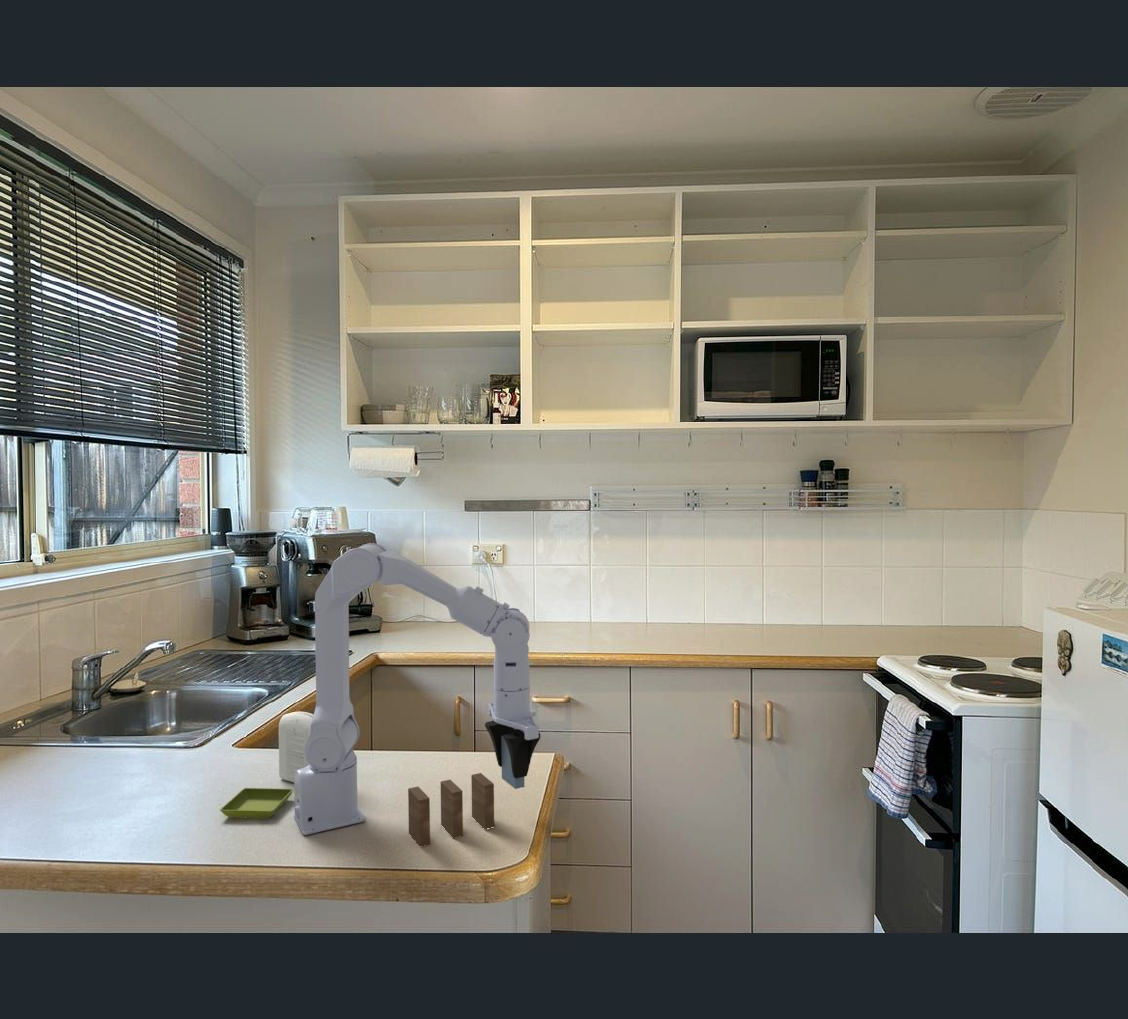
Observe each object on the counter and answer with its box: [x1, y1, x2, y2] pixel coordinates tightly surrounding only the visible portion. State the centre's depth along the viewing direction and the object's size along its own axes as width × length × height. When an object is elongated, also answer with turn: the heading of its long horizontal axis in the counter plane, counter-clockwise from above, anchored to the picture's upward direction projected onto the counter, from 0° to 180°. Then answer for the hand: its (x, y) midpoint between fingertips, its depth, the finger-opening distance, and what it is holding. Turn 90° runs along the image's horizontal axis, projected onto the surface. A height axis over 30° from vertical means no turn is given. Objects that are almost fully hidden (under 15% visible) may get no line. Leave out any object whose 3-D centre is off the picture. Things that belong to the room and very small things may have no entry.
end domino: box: [501, 736, 525, 790], centre depth 121 cm, size 2×5×7 cm, turn 30°
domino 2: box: [440, 779, 464, 839], centre depth 116 cm, size 2×5×7 cm, turn 30°
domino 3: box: [470, 772, 495, 830], centre depth 119 cm, size 2×5×7 cm, turn 30°
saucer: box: [219, 787, 294, 819], centre depth 125 cm, size 9×9×2 cm
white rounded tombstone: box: [278, 711, 314, 783], centre depth 136 cm, size 10×4×12 cm, turn 60°
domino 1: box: [407, 786, 431, 847], centre depth 114 cm, size 2×5×7 cm, turn 30°
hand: (512, 770), depth 121 cm, fingers closed on end domino, 5 cm apart
